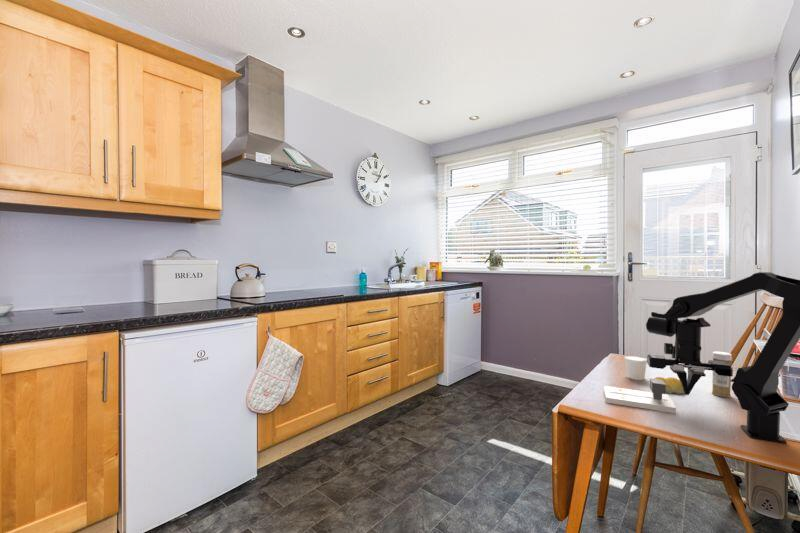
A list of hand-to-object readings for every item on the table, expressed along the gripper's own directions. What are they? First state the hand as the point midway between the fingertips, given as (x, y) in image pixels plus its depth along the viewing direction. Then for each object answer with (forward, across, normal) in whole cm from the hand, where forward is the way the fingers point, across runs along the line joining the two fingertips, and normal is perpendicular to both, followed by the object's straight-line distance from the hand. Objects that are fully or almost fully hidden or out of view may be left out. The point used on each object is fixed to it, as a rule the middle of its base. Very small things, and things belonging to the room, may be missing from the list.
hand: (686, 394), depth 105 cm
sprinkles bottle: (+4, -12, -18) cm, 22 cm away
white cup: (+4, +10, -25) cm, 27 cm away
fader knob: (+2, +7, 0) cm, 7 cm away
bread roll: (+4, +1, -16) cm, 17 cm away
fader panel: (+4, +12, 0) cm, 13 cm away
